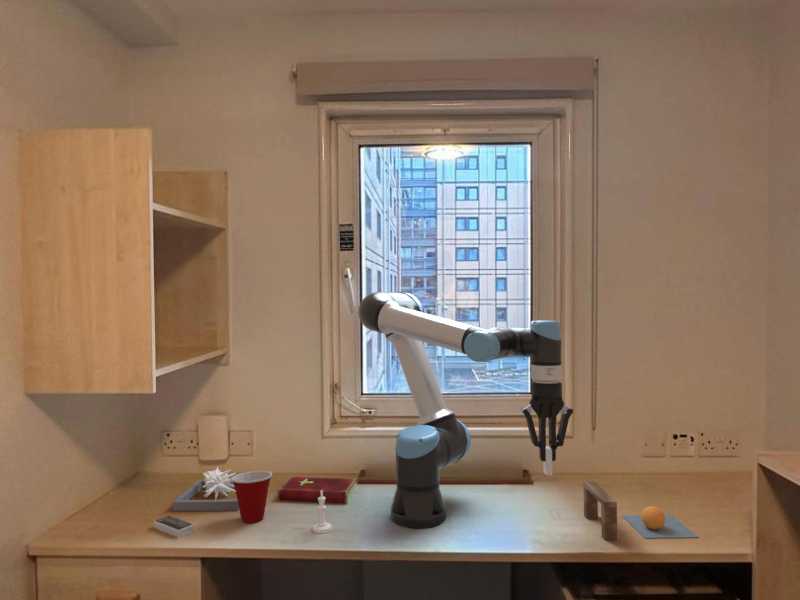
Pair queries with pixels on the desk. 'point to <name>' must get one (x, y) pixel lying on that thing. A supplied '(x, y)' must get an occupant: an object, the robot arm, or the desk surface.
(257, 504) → the plastic cup
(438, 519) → the robot arm
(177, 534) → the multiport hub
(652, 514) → the ball
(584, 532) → the desk surface
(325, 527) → the chess piece
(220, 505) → the ball rest frame
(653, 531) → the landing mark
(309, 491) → the hardcover book
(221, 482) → the spiky ball
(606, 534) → the bridge
